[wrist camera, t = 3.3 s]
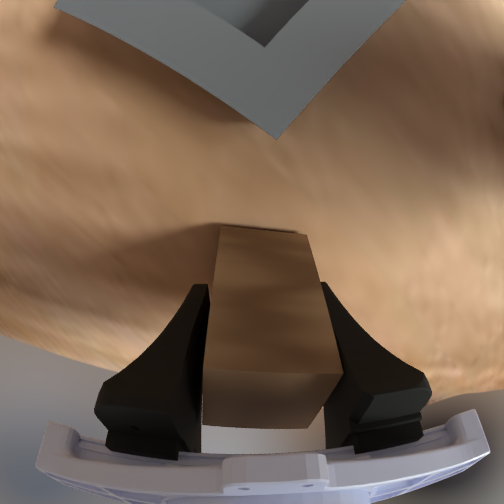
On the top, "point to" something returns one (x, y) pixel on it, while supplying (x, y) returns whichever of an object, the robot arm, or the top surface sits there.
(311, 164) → the top surface
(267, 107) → the socket block
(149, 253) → the top surface
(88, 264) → the top surface
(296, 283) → the walnut peg
